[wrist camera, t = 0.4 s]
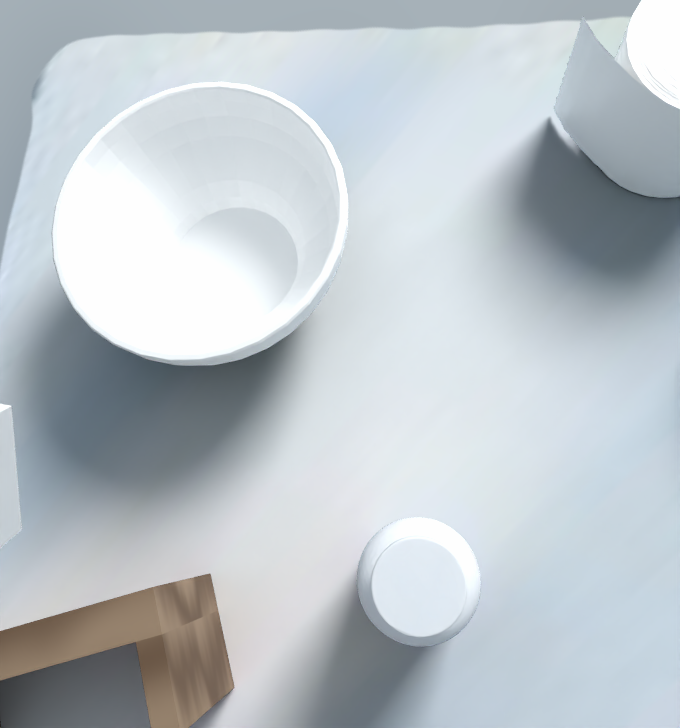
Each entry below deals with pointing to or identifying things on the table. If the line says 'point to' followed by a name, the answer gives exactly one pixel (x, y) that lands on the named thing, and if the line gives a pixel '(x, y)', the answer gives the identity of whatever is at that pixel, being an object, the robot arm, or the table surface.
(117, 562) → the table surface
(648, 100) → the toilet tissue
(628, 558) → the table surface
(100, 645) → the wooden bridge block
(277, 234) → the bowl
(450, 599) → the supplement bottle
